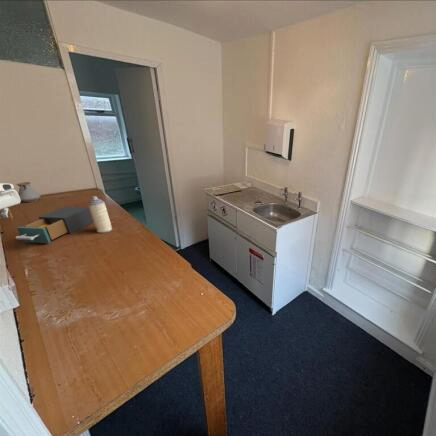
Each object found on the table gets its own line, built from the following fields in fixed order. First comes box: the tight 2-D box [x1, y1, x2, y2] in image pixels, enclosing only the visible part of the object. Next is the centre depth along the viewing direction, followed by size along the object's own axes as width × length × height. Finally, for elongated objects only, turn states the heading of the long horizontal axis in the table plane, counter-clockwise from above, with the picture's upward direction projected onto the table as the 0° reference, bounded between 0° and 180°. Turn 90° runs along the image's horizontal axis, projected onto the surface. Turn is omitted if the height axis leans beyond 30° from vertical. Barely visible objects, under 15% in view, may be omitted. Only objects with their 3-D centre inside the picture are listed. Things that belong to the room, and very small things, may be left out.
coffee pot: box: [15, 181, 42, 203], centre depth 162 cm, size 21×12×15 cm, turn 48°
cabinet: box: [38, 206, 94, 235], centre depth 130 cm, size 16×14×10 cm
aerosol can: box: [88, 195, 113, 234], centre depth 127 cm, size 7×7×20 cm
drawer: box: [15, 218, 68, 244], centre depth 118 cm, size 19×12×8 cm, turn 0°
